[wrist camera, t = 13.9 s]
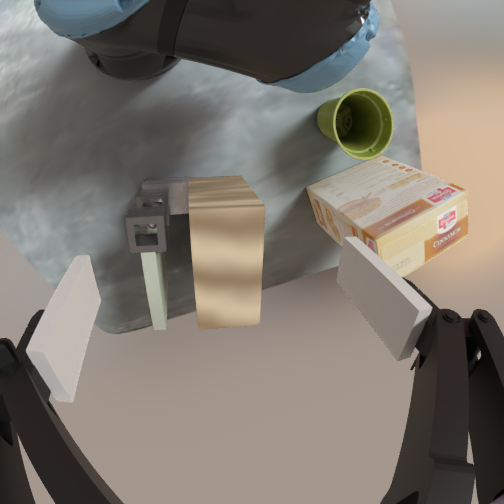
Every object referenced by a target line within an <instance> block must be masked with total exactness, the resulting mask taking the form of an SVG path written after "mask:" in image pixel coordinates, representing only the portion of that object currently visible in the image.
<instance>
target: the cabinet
mask: <svg viewBox="0 0 504 504" xmlns="http://www.w3.org/2000/svg"><path fill="white" fill-rule="evenodd" d="M166 188H169V199H170V215H174V214H189V222H190V238H191V252H192V265H193V277H194V288H195V298H196V308H197V317H198V327H199V330H204V329H216V328H226V327H235V326H245V325H253V324H259V323H260V306H261V288H262V268H263V247H264V226H265V206H264V204H263V203H262V202H261V201H260V199H259V198H258V197H257V195H256V194H255V193H254V192H253V190H252V189H251V188H250V186H249V185H248V184H247V183H246V181H245V180H244V179H243V177H242V176H222V177H200V178H188V177H177V178H164V179H151V180H144V182H143V184H142V190H149V189H166ZM155 206H162V202H148V203H146V207H155ZM147 225H148V227H149V228H151V229H155V228H156V227H157V225H156V224H147Z"/></svg>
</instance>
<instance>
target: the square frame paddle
mask: <svg viewBox="0 0 504 504" xmlns="http://www.w3.org/2000/svg"><path fill="white" fill-rule="evenodd" d="M148 202H162V206H155V207H146V203H148ZM136 206H137V208H130V209H129V211H128V213H127V215H126V217H125V221H126V229H127V236H128V243H129V250H130V253H141V258H142V265H143V272H144V278H145V284H146V290H147V296H148V301H149V307H150V312H151V317H152V322H153V327H154V330H166V329H167V301H168V279H167V270H166V260H165V252H166V251H167V242H168V235H167V226H168V225H170V199H169V188H166V189H149V190H139V192H138V194H137V196H136ZM147 224H156V225H157V227H156V228H155V229H151V228H149V227H148V225H147ZM139 227H148V228H147V231H146V234H140V231H139Z"/></svg>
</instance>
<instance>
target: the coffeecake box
mask: <svg viewBox="0 0 504 504" xmlns="http://www.w3.org/2000/svg"><path fill="white" fill-rule="evenodd" d="M306 189H307V192H308V195H309V199H310V202H311V205H312V208H313V211H314V215H315V218H316V221H317V224H319V225H320V226H321V227H322V228H323V229H324V230H325V231H326V232H327V233H328V234H329V235H330V236H331V237H332V238H333V239H334V240H335V241H336V242H337V243H338V244H339V245H340V246H341V247H342V246H343V240H344V237H355V236H356V237H357V238H358V239H359V240H361V241H362V242H363V243H364V244H365V245H366V246H367V247H369V248H370V249H371V250H372V251H373V252H374V253H375V254H376V255H378V256H379V257H380V258H381V259H382V260H383V261H384V262H385V263H386V264H388V265H389V266H390V267H391V268H392V269H393V270H394V271H395V272H396V273H397V274H398V275H399V276H400V277H404V276H406V275H408V274H409V273H411V272H413V271H414V270H416V269H417V268H419V267H421V266H422V265H424V264H425V263H427V262H429V261H430V260H432V259H434V258H435V257H436V256H438V255H440V254H441V253H443V252H444V251H446V250H447V249H449V248H450V247H452V246H454V245H455V244H456V243H458V242H459V241H461V240H462V239H464V238H465V237H467V232H468V191H467V190H465V189H463V188H460V187H458V186H456V185H453V184H451V183H449V182H447V181H445V180H442V179H440V178H438V177H435V176H433V175H431V174H428V173H426V172H423V171H421V170H418V169H416V168H413V167H411V166H408V165H405V164H403V163H400V162H397V161H395V160H392V159H389V158H386V157H384V156H379V157H377V158H374V159H372V160H369V161H367V162H364V163H362V164H359V165H357V166H354V167H352V168H350V169H347V170H345V171H342V172H340V173H338V174H335V175H333V176H331V177H328V178H326V179H323V180H321V181H319V182H316V183H314V184H312V185H309V186H307V187H306Z"/></svg>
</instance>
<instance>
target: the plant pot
mask: <svg viewBox="0 0 504 504" xmlns="http://www.w3.org/2000/svg"><path fill="white" fill-rule="evenodd" d="M336 118H337V121H336ZM348 118H349V120H350V122H349V125H348V126H347V121H348V120H347V119H348ZM317 124H318V127H319V128H320V130H321V132H322V133H323V134H324V135H325V136H327V137H328V138H330V139H332V140H333V141H335V142H337V143H338V144H339V146H340V147H341V149H342V150H343V151H344V152H345V153H347V154H348V155H350V156H351V157H353V158H356V159H360V160H368V159H373V158H375V157H377V156H379V155H380V154H382V153H383V152H384V151H385V149H386V148H387V147H388V145H389V143H390V141H391V138H392V135H393V128H394V121H393V116H392V112H391V109H390V107H389V105H388V103H387V102H386V100H385V99H384V98H383V97H382V96H381V95H380V94H378V93H377V92H375V91H373V90H370V89H366V88H359V89H354V90H351V91H349V92H347V93H346V94H345V95H343V96H342V97H341V98H337V99H333V100H330V101H327V102H326V103H324V104H323V105H322V106H321V107H320V109H319V111H318V114H317Z"/></svg>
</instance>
